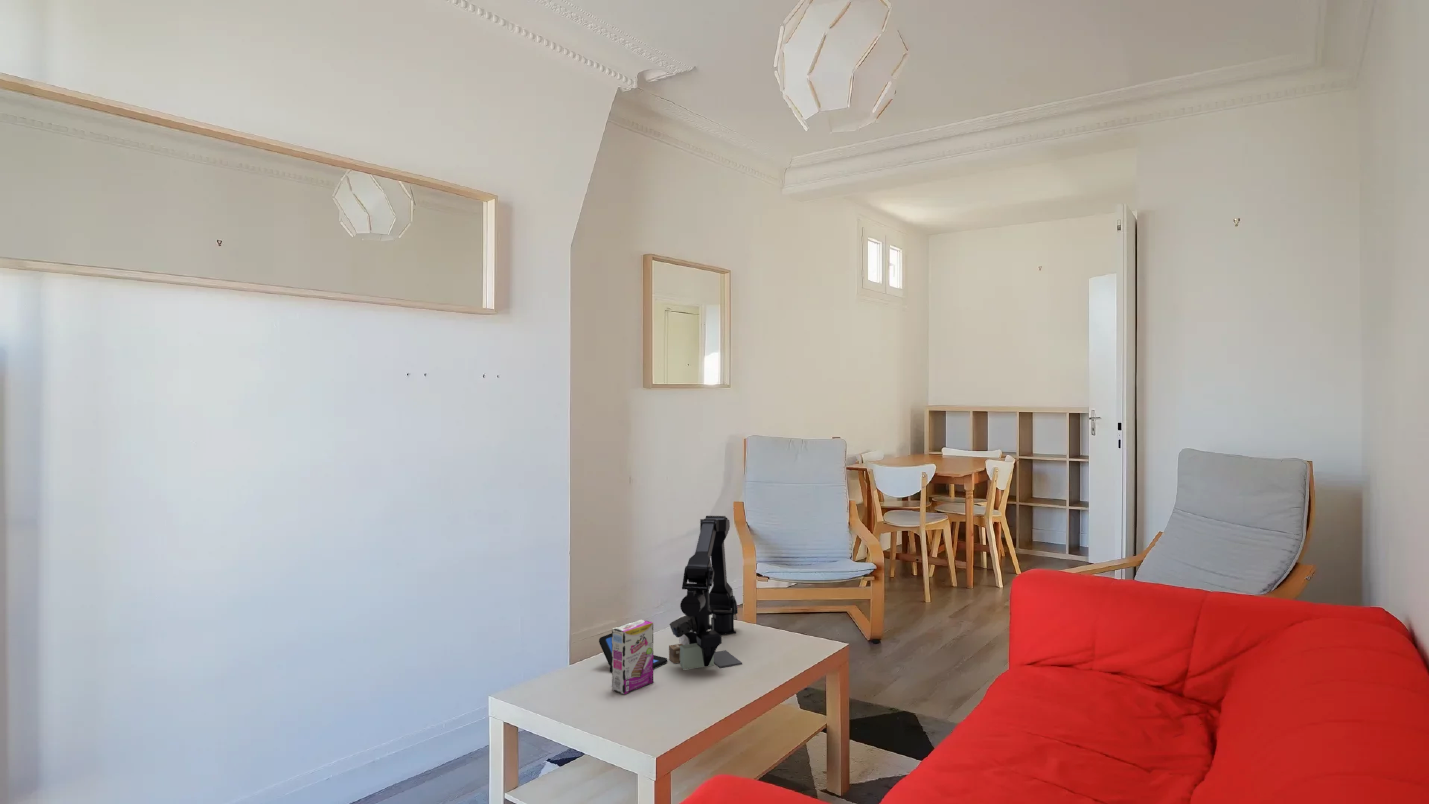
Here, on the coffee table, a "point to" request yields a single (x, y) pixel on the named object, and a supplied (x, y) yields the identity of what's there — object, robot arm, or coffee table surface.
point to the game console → (607, 649)
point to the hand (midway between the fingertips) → (700, 661)
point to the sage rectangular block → (692, 657)
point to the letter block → (674, 653)
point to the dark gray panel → (725, 659)
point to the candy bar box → (632, 656)
